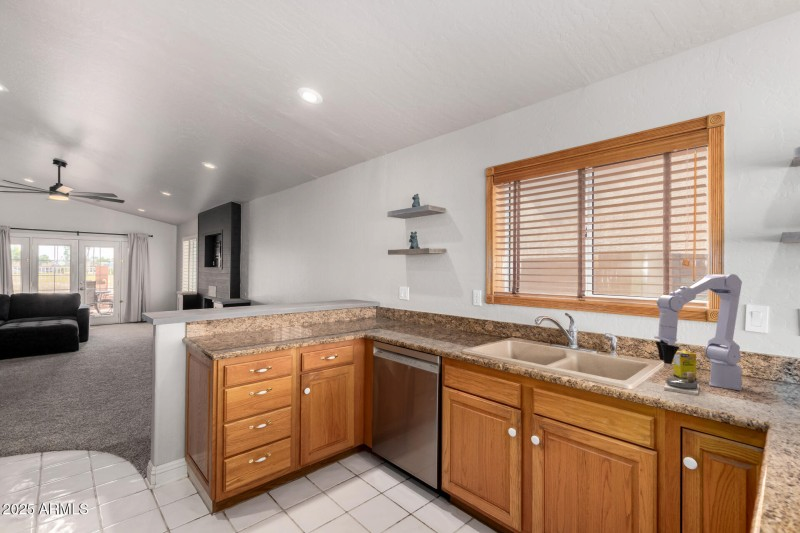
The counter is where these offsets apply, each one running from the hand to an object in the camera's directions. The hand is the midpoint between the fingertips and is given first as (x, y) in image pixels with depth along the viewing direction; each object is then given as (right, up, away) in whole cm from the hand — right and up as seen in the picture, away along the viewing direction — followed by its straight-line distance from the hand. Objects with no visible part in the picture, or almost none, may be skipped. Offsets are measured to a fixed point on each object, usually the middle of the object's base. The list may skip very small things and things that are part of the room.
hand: (665, 361), depth 144 cm
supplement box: (+19, -11, +15) cm, 26 cm away
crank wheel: (+7, -9, 0) cm, 11 cm away
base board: (+7, -10, 0) cm, 12 cm away
